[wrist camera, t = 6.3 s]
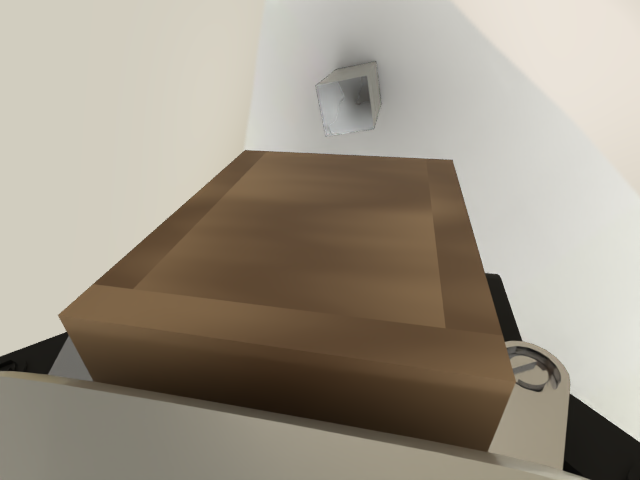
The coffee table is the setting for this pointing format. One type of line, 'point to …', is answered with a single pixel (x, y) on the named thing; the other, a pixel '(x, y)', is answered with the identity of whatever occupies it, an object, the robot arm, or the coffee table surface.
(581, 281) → the coffee table surface
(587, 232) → the coffee table surface
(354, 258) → the tan wooden cube
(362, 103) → the post
